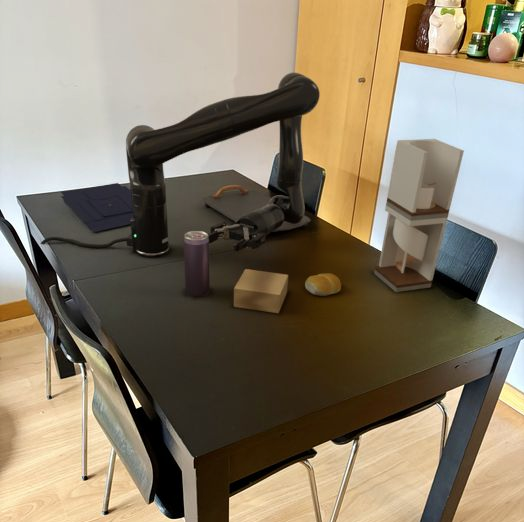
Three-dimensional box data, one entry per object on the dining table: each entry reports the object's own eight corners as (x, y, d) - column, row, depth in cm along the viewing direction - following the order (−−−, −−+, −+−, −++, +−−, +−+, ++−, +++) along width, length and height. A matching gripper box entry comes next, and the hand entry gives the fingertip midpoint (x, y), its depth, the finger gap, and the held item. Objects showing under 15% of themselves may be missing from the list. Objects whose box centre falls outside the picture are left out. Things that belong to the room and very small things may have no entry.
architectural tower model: (373, 273, 150) (397, 140, 130) (407, 269, 153) (434, 138, 134) (395, 292, 141) (424, 152, 122) (430, 287, 144) (463, 150, 125)
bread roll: (346, 291, 140) (348, 277, 138) (318, 299, 136) (320, 285, 134) (326, 278, 146) (328, 265, 143) (299, 286, 141) (300, 272, 139)
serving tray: (196, 204, 189) (195, 186, 186) (252, 195, 201) (252, 178, 197) (257, 243, 163) (258, 223, 160) (317, 230, 174) (319, 211, 171)
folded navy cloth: (123, 189, 195) (122, 179, 193) (164, 225, 178) (164, 215, 176) (55, 200, 182) (54, 190, 180) (93, 240, 165) (92, 229, 163)
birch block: (233, 306, 131) (233, 288, 128) (244, 286, 140) (245, 268, 137) (278, 313, 129) (279, 294, 126) (286, 292, 138) (288, 274, 135)
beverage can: (205, 299, 133) (204, 241, 125) (182, 296, 134) (179, 238, 126) (212, 288, 138) (212, 232, 130) (189, 285, 139) (188, 229, 131)
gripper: (235, 206, 150) (198, 223, 139) (279, 217, 144) (245, 236, 133) (234, 232, 155) (199, 250, 143) (277, 244, 148) (244, 264, 137)
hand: (221, 243), depth 138 cm, fingers open, 8 cm apart
